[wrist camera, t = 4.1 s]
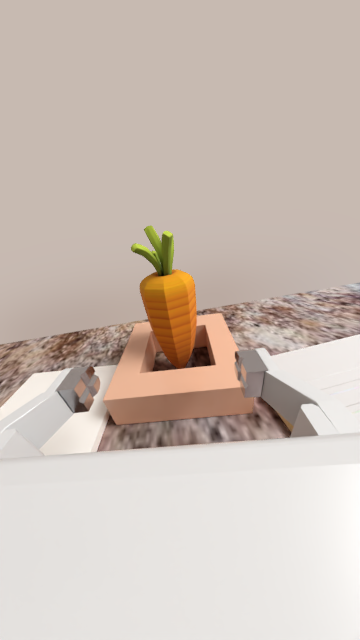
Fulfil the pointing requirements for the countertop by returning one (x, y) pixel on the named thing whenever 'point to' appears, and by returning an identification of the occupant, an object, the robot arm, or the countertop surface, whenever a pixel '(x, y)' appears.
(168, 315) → the carrot
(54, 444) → the plate
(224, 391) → the holder ring
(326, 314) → the countertop surface
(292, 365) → the baseboard molding
